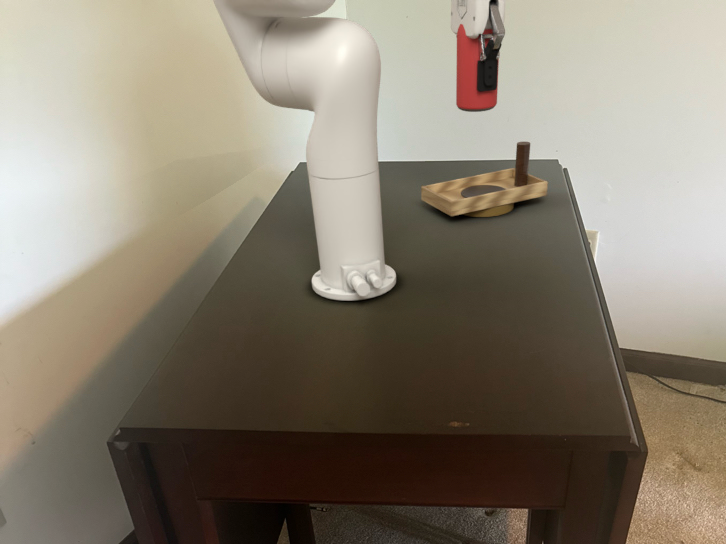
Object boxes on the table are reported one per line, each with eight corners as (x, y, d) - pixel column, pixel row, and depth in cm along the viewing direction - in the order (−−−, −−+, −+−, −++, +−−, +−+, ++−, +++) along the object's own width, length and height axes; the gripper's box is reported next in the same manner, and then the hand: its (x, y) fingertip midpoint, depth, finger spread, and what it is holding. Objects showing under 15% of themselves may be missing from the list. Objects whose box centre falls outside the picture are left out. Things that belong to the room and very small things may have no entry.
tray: (451, 216, 116) (451, 167, 111) (421, 200, 123) (420, 153, 118) (546, 195, 122) (551, 147, 117) (512, 180, 129) (515, 135, 124)
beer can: (504, 106, 110) (509, 13, 101) (479, 114, 106) (482, 19, 98) (473, 102, 113) (475, 12, 105) (447, 109, 110) (448, 17, 101)
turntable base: (524, 211, 121) (524, 202, 120) (468, 220, 119) (468, 211, 118) (497, 194, 129) (497, 185, 128) (444, 203, 126) (444, 194, 125)
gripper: (433, -62, 101) (435, 81, 113) (482, -61, 88) (478, 99, 101) (479, -65, 102) (475, 76, 114) (533, -65, 90) (523, 93, 102)
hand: (477, 85), depth 107 cm, fingers closed on beer can, 6 cm apart
